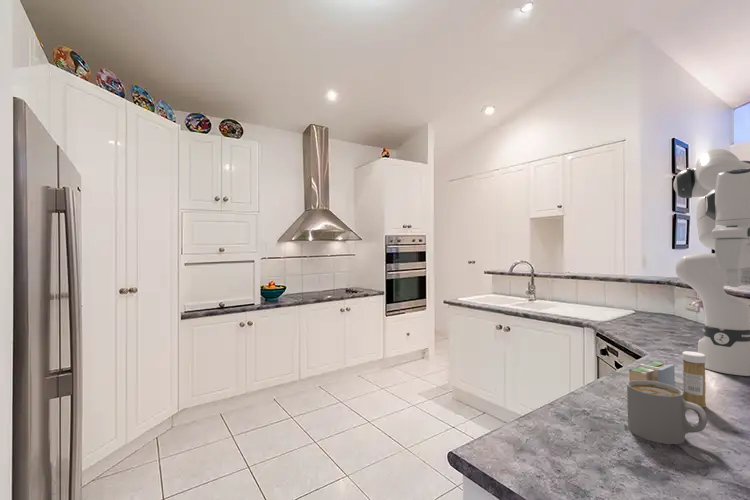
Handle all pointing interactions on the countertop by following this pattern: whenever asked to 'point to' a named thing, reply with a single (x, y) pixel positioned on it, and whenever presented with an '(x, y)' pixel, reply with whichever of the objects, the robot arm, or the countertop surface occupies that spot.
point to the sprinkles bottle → (694, 377)
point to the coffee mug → (660, 412)
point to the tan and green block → (645, 372)
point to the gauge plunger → (664, 374)
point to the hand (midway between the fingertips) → (740, 285)
